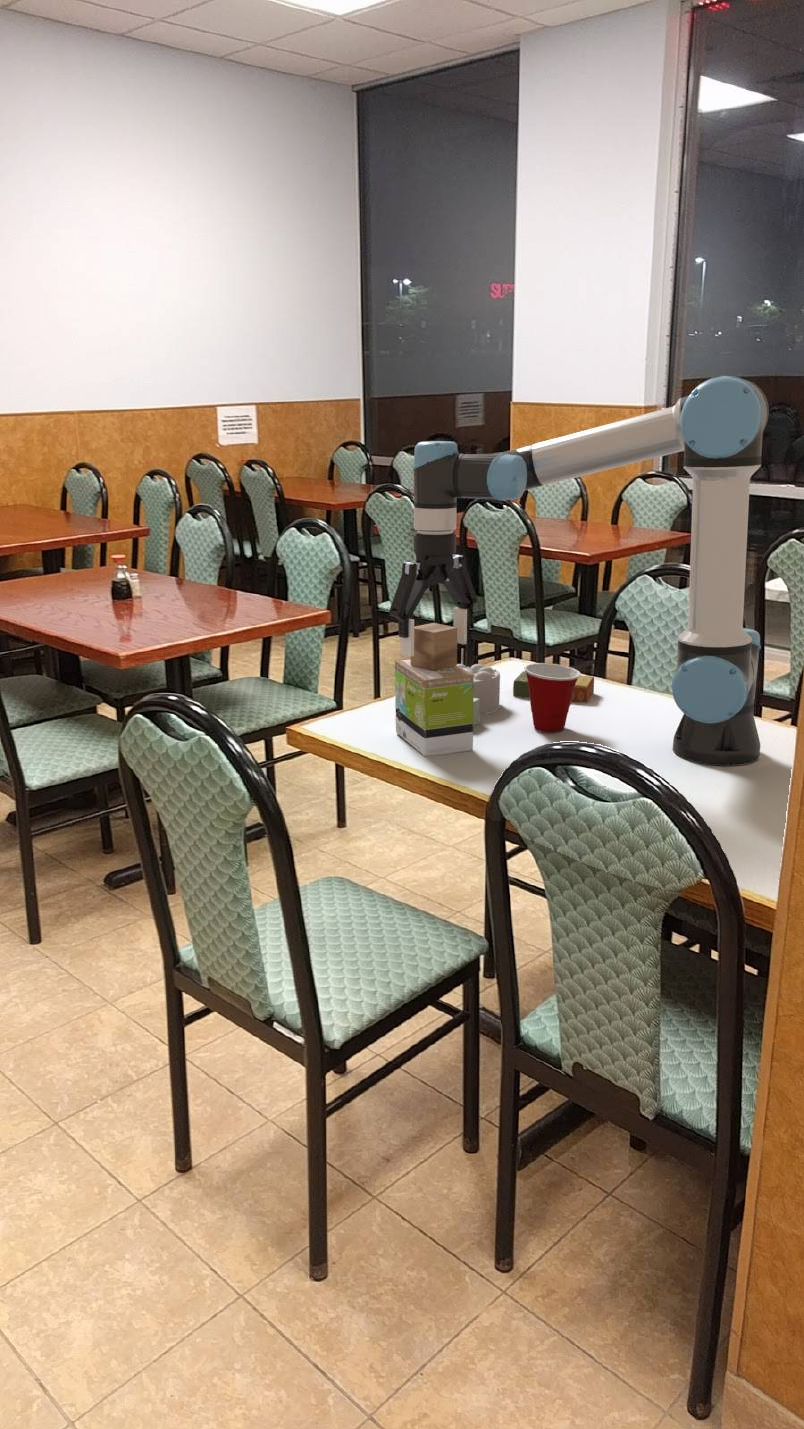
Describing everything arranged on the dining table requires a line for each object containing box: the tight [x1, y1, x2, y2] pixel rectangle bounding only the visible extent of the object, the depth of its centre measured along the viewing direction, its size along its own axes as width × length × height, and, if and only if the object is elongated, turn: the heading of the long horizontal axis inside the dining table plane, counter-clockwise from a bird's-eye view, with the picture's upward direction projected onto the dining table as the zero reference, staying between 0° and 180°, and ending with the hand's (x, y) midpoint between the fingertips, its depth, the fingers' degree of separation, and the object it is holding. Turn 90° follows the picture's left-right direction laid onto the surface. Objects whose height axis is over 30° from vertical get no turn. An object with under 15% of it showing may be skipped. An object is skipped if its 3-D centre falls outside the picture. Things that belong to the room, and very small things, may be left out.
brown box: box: [409, 622, 458, 671], centre depth 197 cm, size 6×6×7 cm
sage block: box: [473, 698, 480, 727], centre depth 212 cm, size 5×5×5 cm
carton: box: [512, 670, 595, 704], centre depth 232 cm, size 8×16×4 cm, turn 71°
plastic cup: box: [523, 662, 582, 734], centre depth 208 cm, size 11×11×12 cm
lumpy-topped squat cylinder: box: [457, 663, 501, 716], centre depth 222 cm, size 10×13×9 cm
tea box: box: [394, 659, 474, 758], centre depth 199 cm, size 15×10×15 cm, turn 22°
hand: (434, 649), depth 197 cm, fingers open, 13 cm apart
